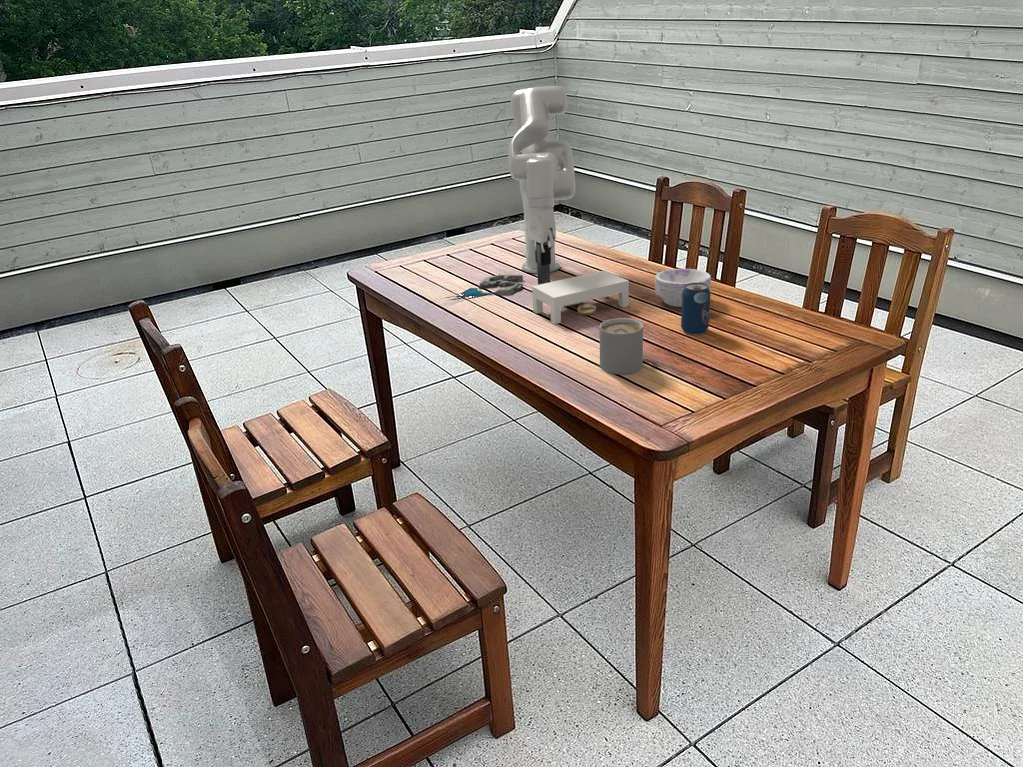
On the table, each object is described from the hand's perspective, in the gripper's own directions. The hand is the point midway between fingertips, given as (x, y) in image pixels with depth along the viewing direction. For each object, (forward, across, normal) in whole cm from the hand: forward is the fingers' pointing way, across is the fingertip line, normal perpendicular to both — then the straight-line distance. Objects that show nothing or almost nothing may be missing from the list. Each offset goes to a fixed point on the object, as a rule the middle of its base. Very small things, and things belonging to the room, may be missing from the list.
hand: (543, 262), depth 231 cm
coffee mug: (+8, +59, -11) cm, 61 cm away
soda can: (+8, +52, +15) cm, 55 cm away
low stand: (+8, +21, 0) cm, 23 cm away
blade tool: (+8, +8, 0) cm, 12 cm away
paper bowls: (+9, +33, +26) cm, 43 cm away
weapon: (+9, -10, -18) cm, 23 cm away
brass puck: (+9, +24, 0) cm, 26 cm away
